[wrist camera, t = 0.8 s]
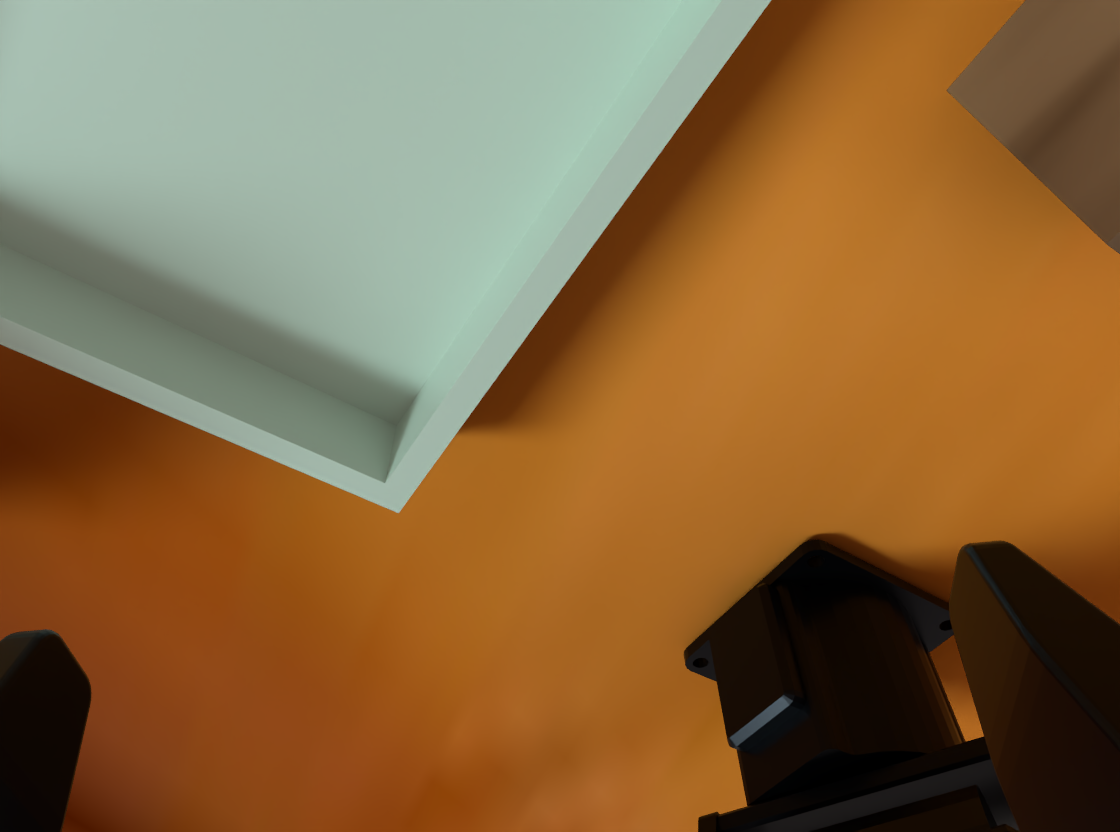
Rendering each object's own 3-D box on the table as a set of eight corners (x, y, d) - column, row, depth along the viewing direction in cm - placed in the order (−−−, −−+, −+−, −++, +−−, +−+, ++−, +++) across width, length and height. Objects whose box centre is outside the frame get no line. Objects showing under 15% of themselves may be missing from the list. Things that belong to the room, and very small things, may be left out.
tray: (759, -68, 18) (794, -31, 15) (411, 435, 25) (398, 513, 23) (-47, -690, 13) (-180, -778, 10) (-188, 160, 20) (-286, 223, 18)
